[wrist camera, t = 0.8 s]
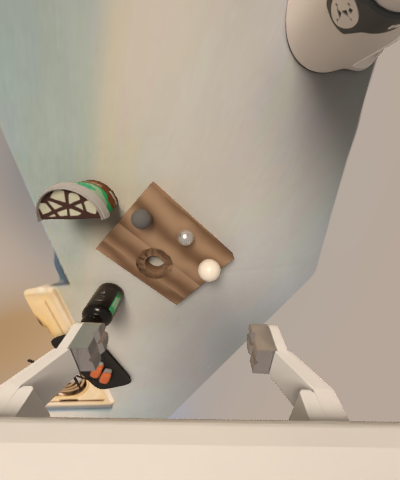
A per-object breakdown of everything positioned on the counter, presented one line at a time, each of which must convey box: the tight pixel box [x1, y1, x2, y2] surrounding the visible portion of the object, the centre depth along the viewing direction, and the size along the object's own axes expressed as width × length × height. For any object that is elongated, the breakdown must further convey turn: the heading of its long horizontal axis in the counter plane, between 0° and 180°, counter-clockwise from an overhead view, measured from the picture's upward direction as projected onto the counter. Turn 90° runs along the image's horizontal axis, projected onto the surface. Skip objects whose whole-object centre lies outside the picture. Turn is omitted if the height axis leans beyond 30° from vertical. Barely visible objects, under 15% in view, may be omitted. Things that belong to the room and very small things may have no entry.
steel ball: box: [177, 229, 194, 246], centre depth 43 cm, size 4×4×4 cm
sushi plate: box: [27, 335, 131, 389], centre depth 69 cm, size 29×30×4 cm
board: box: [96, 182, 234, 305], centre depth 48 cm, size 20×24×2 cm
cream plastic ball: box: [198, 259, 221, 282], centre depth 45 cm, size 5×5×5 cm
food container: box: [35, 180, 118, 222], centre depth 38 cm, size 12×6×10 cm, turn 92°
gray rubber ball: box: [131, 209, 152, 229], centre depth 41 cm, size 4×4×4 cm
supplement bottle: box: [81, 283, 123, 326], centre depth 50 cm, size 7×7×12 cm
